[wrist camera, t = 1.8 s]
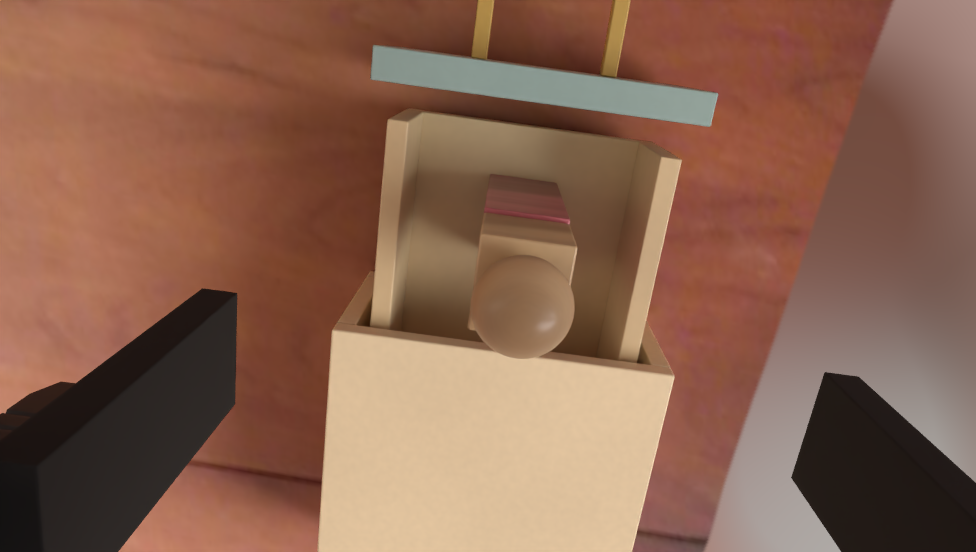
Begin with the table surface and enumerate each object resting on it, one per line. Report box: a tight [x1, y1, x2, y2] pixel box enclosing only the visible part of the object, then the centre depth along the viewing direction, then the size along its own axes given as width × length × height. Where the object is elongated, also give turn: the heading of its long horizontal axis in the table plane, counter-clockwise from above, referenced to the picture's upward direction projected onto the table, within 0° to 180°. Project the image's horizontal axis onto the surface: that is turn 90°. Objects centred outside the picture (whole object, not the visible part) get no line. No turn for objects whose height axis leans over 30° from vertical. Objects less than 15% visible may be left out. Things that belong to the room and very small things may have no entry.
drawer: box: [370, 0, 718, 363], centre depth 28 cm, size 19×12×6 cm, turn 172°
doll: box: [468, 174, 577, 359], centre depth 24 cm, size 4×3×13 cm
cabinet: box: [317, 271, 674, 552], centre depth 32 cm, size 16×14×8 cm
